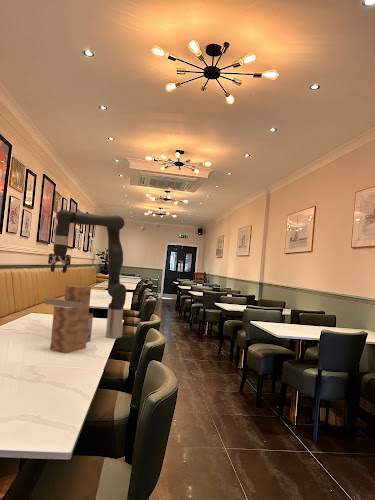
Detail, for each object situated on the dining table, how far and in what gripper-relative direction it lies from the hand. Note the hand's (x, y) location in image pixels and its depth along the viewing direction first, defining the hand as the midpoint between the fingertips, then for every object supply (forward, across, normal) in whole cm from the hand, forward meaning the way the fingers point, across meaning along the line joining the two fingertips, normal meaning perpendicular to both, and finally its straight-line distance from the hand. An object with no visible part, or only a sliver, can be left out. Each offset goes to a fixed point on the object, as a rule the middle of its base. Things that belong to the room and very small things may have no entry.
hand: (58, 272), depth 205 cm
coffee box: (+38, +14, +7) cm, 42 cm away
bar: (+16, +20, -16) cm, 30 cm away
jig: (+38, +22, -12) cm, 46 cm away
